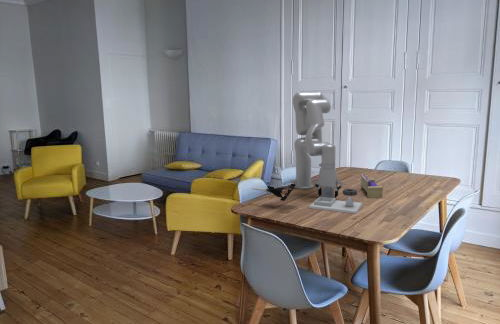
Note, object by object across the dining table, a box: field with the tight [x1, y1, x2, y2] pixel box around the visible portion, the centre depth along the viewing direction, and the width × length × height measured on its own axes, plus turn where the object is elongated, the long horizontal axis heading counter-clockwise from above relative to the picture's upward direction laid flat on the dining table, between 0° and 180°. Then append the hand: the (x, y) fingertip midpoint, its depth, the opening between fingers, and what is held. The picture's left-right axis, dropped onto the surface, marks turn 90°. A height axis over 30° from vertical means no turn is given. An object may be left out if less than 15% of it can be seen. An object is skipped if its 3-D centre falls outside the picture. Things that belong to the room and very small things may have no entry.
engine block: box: [321, 187, 335, 198], centre depth 217 cm, size 5×6×7 cm
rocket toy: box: [250, 183, 295, 202], centre depth 206 cm, size 14×6×23 cm
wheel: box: [342, 188, 358, 197], centre depth 198 cm, size 7×7×2 cm
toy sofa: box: [360, 173, 384, 199], centre depth 227 cm, size 21×9×10 cm, turn 175°
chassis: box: [308, 196, 363, 214], centre depth 202 cm, size 24×16×6 cm, turn 63°
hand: (328, 196), depth 217 cm, fingers open, 8 cm apart
